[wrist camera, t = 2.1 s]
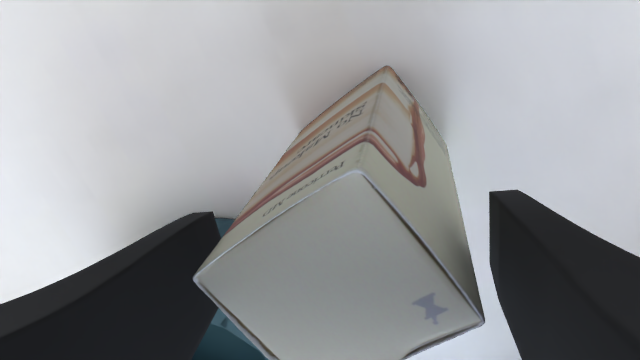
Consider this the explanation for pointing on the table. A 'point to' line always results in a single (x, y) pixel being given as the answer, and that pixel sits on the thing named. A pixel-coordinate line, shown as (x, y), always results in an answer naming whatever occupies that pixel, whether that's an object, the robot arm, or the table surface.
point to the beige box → (351, 239)
